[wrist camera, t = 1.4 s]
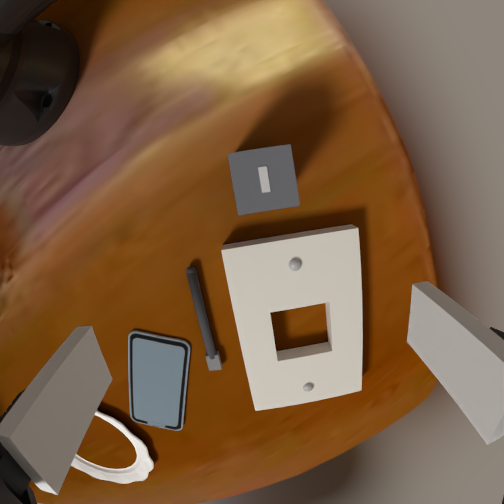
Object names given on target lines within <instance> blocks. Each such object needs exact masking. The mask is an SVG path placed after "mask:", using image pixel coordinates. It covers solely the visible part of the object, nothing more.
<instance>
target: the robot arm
mask: <svg viewBox="0 0 504 504" xmlns="http://www.w3.org/2000/svg"><path fill="white" fill-rule="evenodd" d="M55 1H56V0H0V145H3V146H19V145H24V144H27V143H30V142H32V141H34V140H36V139H37V138H39V137H40V136H41V135H43V134H44V133H45V132H46V131H47V130H48V129H49V128H50V127H51V126H52V125H53V124H54V123H55V122H56V120H57V119H58V118H59V116H60V115H61V113H62V112H63V110H64V108H65V107H66V105H67V103H68V101H69V99H70V97H71V94H72V92H73V89H74V87H75V83H76V79H77V75H78V69H79V52H78V47H77V44H76V41H75V39H74V38H73V36H72V35H71V34H70V33H69V32H68V31H67V30H66V29H64V28H63V27H61V26H60V25H58V24H57V23H54V22H52V21H48V20H34V19H35V18H36V17H37V16H38V15H39V14H40V13H42V12H43V11H44V10H45V9H46V8H48V7H49V6H50V5H51V4H53V3H54V2H55ZM407 342H408V343H409V345H410V346H411V347H412V348H413V349H414V351H415V352H416V353H417V354H418V355H419V357H420V358H421V359H422V360H423V362H424V363H425V364H426V365H427V366H428V368H429V369H430V370H431V371H432V373H433V374H434V375H435V376H436V378H437V379H438V380H439V381H440V383H441V384H442V385H443V386H444V388H445V389H446V390H447V392H448V393H449V394H450V395H451V397H452V398H453V399H454V401H455V402H456V403H457V404H458V406H459V407H460V408H461V410H462V411H463V412H464V414H465V415H466V416H467V418H468V419H469V420H470V422H471V423H472V424H473V426H474V427H475V428H476V430H477V431H478V433H479V434H480V435H481V437H482V438H483V439H484V441H485V442H486V444H487V445H488V444H490V443H492V442H494V441H495V440H497V439H498V438H500V437H502V436H504V332H501V331H499V330H497V329H494V328H492V327H491V328H488V327H487V326H486V325H484V324H483V323H482V322H481V321H480V320H478V319H477V318H475V317H474V316H473V315H472V314H471V313H469V312H468V311H467V310H465V309H464V308H463V307H461V306H460V305H459V304H458V303H456V302H455V301H454V300H452V299H451V298H450V297H448V296H447V295H446V294H444V293H443V292H442V291H440V290H439V289H438V288H436V287H435V286H433V285H432V284H431V283H429V282H428V281H426V282H421V283H416V284H412V296H411V308H410V319H409V328H408V337H407ZM111 381H112V377H111V374H110V372H109V370H108V367H107V365H106V362H105V360H104V358H103V355H102V353H101V350H100V347H99V345H98V342H97V339H96V337H95V334H94V331H93V329H92V326H83V327H76V329H75V330H74V331H73V332H72V333H71V334H70V336H69V337H68V338H67V339H66V340H65V341H64V343H63V344H62V345H61V346H60V347H59V349H58V350H57V351H56V352H55V353H54V355H53V356H52V357H51V358H50V359H49V361H48V362H47V363H46V364H45V366H44V367H43V368H42V369H41V370H40V372H39V373H38V374H37V375H36V377H35V378H34V379H33V381H32V382H31V383H30V384H29V386H28V387H27V388H26V389H24V390H23V391H22V392H21V393H19V394H18V395H17V397H16V398H15V399H14V401H13V402H12V405H10V406H9V407H8V408H7V412H4V414H3V415H2V417H1V418H0V504H37V502H36V499H35V496H34V493H33V491H32V489H31V488H30V487H29V486H28V484H29V482H30V480H32V481H33V482H34V483H35V484H36V485H37V486H38V487H39V488H40V489H41V490H43V491H46V492H50V493H53V494H57V495H58V493H59V491H60V489H61V486H62V484H63V482H64V479H65V477H66V475H67V472H68V470H69V468H70V466H71V463H72V461H73V459H74V457H75V455H76V452H77V450H78V448H79V446H80V444H81V442H82V440H83V437H84V435H85V433H86V431H87V429H88V427H89V425H90V423H91V421H92V419H93V417H94V415H95V412H96V410H97V408H98V406H99V404H100V402H101V400H102V398H103V396H104V394H105V392H106V390H107V389H108V387H109V385H110V383H111ZM502 504H504V497H503V501H502Z"/></svg>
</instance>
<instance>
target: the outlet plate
mask: <svg viewBox="0 0 504 504" xmlns="http://www.w3.org/2000/svg"><path fill="white" fill-rule="evenodd" d="M221 251H222V257H223V262H224V267H225V272H226V277H227V282H228V287H229V292H230V297H231V302H232V306H233V311H234V316H235V321H236V326H237V330H238V335H239V340H240V344H241V349H242V354H243V358H244V363H245V367H246V372H247V376H248V381H249V385H250V390H251V394H252V398H253V403H254V407H255V411H258V410H265V409H272V408H278V407H284V406H290V405H296V404H302V403H307V402H312V401H317V400H322V399H327V398H331V397H336V396H340V395H344V394H349V393H353V392H357V391H361V385H362V350H363V315H362V280H361V260H360V244H359V231H358V228H357V227H356V226H354V225H352V224H349V225H343V226H336V227H330V228H323V229H317V230H311V231H305V232H298V233H292V234H286V235H280V236H274V237H267V238H261V239H255V240H249V241H243V242H237V243H231V244H225V245H222V249H221ZM321 303H326V317H327V332H328V342H324V343H319V344H314V345H309V346H303V347H298V348H292V349H287V350H281V351H276V347H275V341H274V334H273V328H272V321H271V315H270V312H276V311H282V310H288V309H294V308H299V307H305V306H310V305H316V304H321Z"/></svg>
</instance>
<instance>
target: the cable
mask: <svg viewBox="0 0 504 504" xmlns="http://www.w3.org/2000/svg"><path fill="white" fill-rule="evenodd" d="M186 272H187V277H188V281H189V285H190V289H191V293H192V297H193V301H194V305H195V309H196V313H197V317H198V321H199V325H200V329H201V332H202V336H203V340H204V344H205V347H206V351H207V352H206V360H207V363H208V367H209V370H210V371H212V370H220V369H222V362H221V359H220V355H219V351H216V350H215V346H214V342H213V338H212V334H211V330H210V326H209V322H208V318H207V314H206V310H205V306H204V301H203V297H202V293H201V289H200V284H199V280H198V276H197V271H196V269H195V267H193V266H190V267H188V268H187V270H186Z"/></svg>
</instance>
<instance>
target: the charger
mask: <svg viewBox="0 0 504 504" xmlns="http://www.w3.org/2000/svg"><path fill="white" fill-rule="evenodd" d="M228 159H229V165H230V171H231V177H232V182H233V188H234V194H235V200H236V206H237V211H238V215H244V214H250V213H256V212H262V211H268V210H275V209H281V208H288V207H294V206H300V203H299V196H298V189H297V182H296V176H295V169H294V162H293V156H292V150H291V144H288V145H280V146H273V147H266V148H259V149H253V150H247V151H240V152H235V153H229V154H228Z"/></svg>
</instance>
